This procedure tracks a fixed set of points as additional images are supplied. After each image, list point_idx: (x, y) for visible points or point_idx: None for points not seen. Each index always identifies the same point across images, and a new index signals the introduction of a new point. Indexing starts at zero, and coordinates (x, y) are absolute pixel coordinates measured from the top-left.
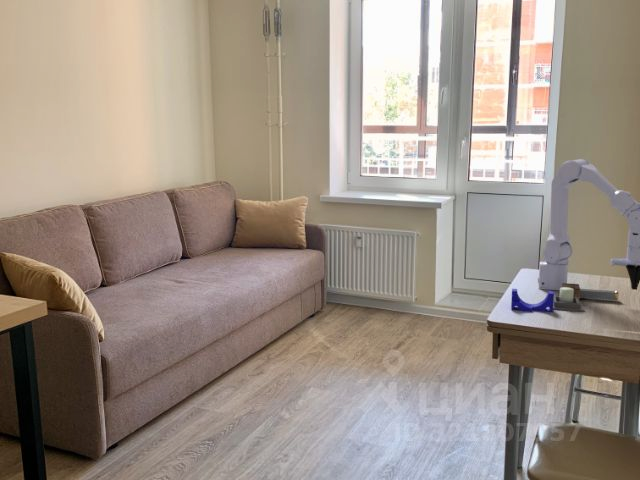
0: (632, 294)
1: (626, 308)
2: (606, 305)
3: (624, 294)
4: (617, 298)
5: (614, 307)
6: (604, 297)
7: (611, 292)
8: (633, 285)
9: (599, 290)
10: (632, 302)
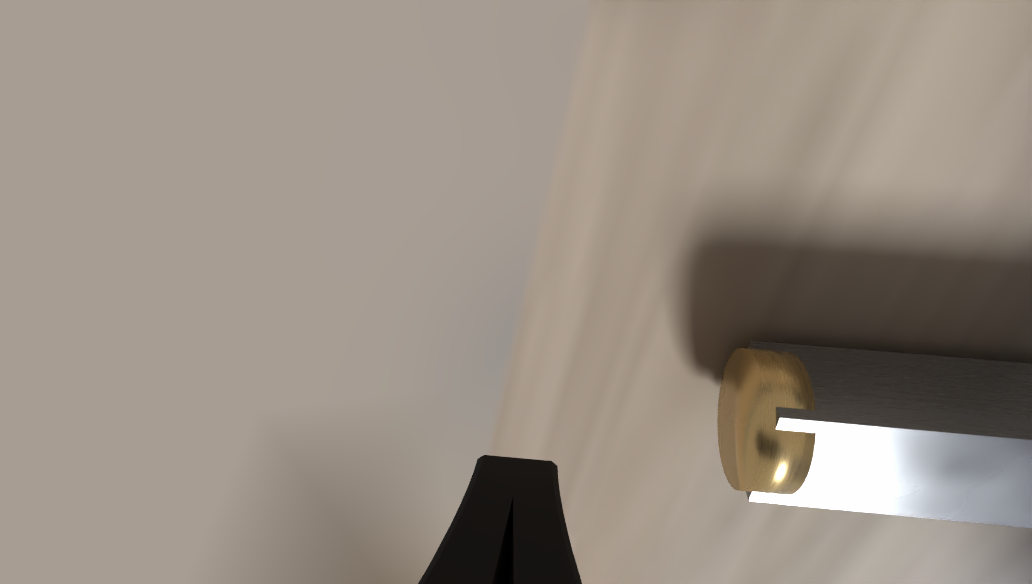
0: None
1: (719, 14)
2: (998, 137)
3: None
4: (757, 350)
5: (916, 35)
6: (937, 374)
7: (875, 430)
8: (541, 515)
9: (1022, 502)
10: (536, 344)
